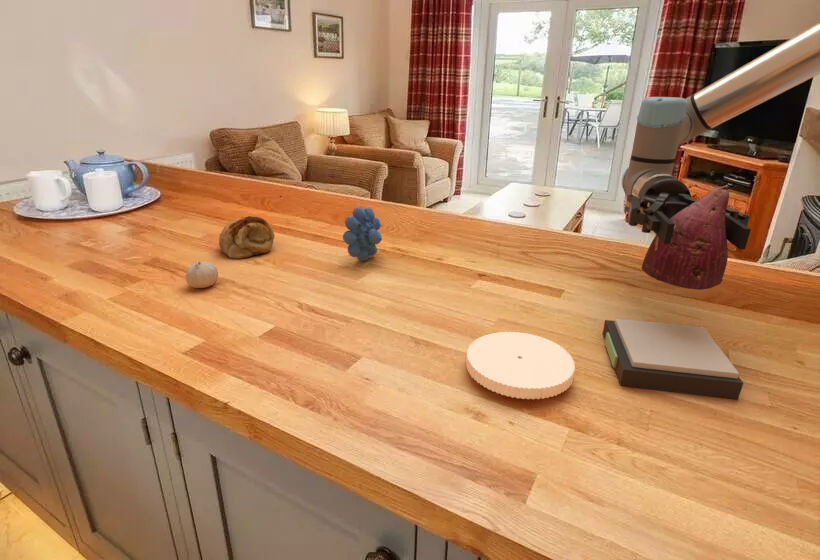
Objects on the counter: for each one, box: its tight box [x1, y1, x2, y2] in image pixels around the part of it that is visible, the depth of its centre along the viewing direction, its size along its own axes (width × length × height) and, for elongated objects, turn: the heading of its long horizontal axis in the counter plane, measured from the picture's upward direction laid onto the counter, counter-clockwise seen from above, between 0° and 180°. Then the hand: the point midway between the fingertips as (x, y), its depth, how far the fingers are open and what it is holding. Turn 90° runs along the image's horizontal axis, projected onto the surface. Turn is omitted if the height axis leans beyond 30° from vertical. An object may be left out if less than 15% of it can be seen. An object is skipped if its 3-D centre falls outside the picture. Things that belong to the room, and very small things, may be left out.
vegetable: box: [641, 184, 730, 291], centre depth 69 cm, size 10×10×15 cm
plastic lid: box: [465, 331, 576, 400], centre depth 65 cm, size 14×14×2 cm
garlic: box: [185, 260, 219, 289], centre depth 90 cm, size 6×5×5 cm
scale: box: [602, 318, 744, 400], centre depth 68 cm, size 14×14×3 cm
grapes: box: [342, 206, 383, 262], centre depth 101 cm, size 12×7×12 cm, turn 147°
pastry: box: [218, 215, 275, 260], centre depth 109 cm, size 14×12×8 cm
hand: (706, 236), depth 64 cm, fingers closed on vegetable, 8 cm apart
